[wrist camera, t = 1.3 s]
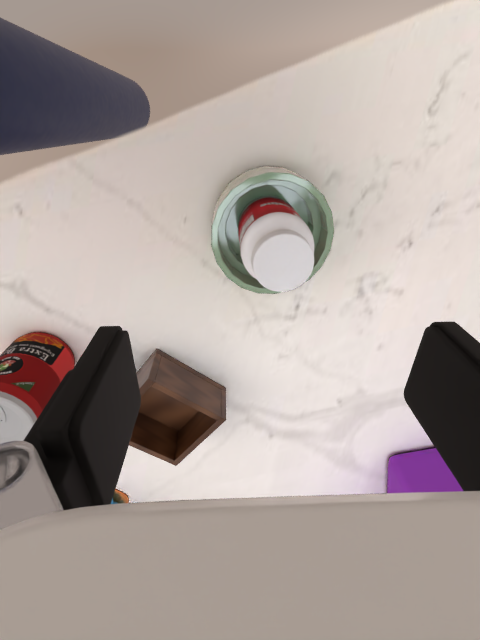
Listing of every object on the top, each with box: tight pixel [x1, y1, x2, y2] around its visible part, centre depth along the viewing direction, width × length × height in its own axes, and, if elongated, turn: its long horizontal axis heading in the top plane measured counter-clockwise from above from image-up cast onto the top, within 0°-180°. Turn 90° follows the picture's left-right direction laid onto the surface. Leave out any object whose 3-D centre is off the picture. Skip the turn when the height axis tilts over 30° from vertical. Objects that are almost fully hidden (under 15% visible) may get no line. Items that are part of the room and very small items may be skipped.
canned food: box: [0, 332, 74, 444], centre depth 37 cm, size 8×8×11 cm
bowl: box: [211, 166, 334, 294], centre depth 33 cm, size 11×11×5 cm
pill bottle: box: [238, 196, 314, 292], centre depth 30 cm, size 6×6×11 cm
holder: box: [129, 349, 226, 466], centre depth 44 cm, size 11×11×6 cm
